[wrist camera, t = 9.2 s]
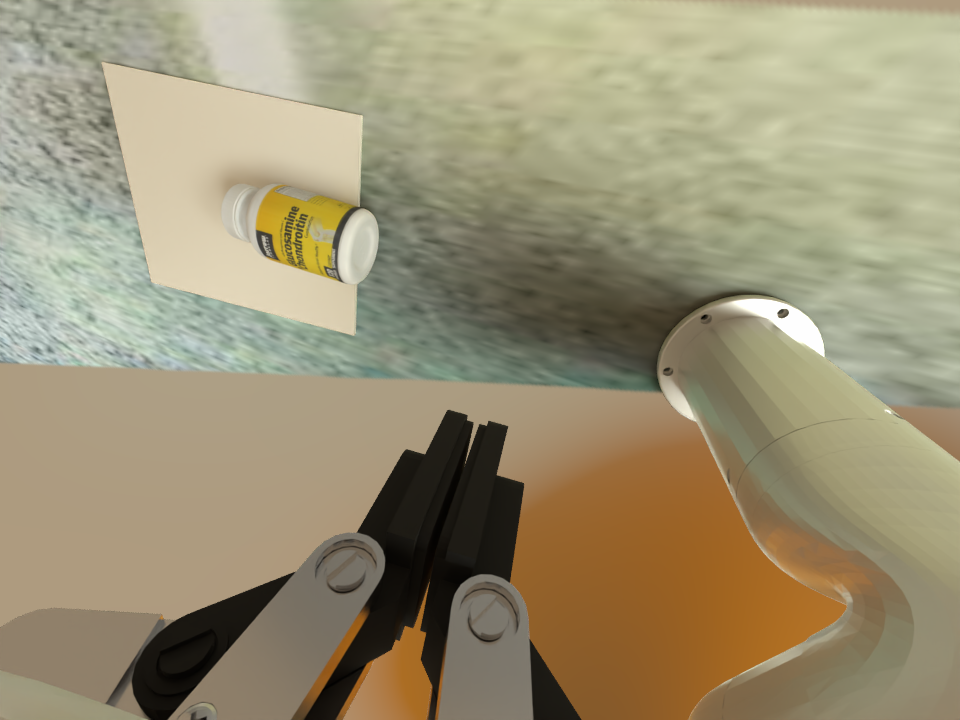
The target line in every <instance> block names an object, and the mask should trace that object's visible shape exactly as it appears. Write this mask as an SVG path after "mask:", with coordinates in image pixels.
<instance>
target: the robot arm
mask: <svg viewBox="0 0 960 720" xmlns="http://www.w3.org/2000/svg"><path fill="white" fill-rule="evenodd" d="M780 309H781V311H779V310H780ZM778 311H779V312H778ZM703 315H706V317H704V318H701V317H702V316H703ZM824 356H825V352H824V342H823V339H822V336H821V334H820V331H819V329H818V328H817V326H816V325H815V324H814V322H813V321H812V320H811V318H810V317H808V316H807V315H806V314H805V313H803V312H802V311H801V310H800V309H798V308H796V307H795V306H793V305H791V304H790V303H788V302H785V301H782V300H780V299H777V298H774V297H769V296H763V295H738V296H732V297H726V298H723V299H720V300H717V301H714V302H711V303H708V304H706V305H704V306H702V307H700V308H698V309H696V310H695V311H693V312H692V313H690V314H689V315H688V316H686V317H685V318H684V319H682V320H681V321H680V322H679V323H678V324H677V325H676V326H675V327H674V328H673V329H672V331H671V332H670V333H669V335H668V336H667V338H666V339H665V341H664V343H663V345H662V347H661V350H660V352H659V356H658V361H657V377H658V381H659V385H660V388H661V390H662V392H663V395H664V397H665V398H666V399H667V401H668V402H669V404H670V405H671V406H672V407H673V408H674V409H675V410H676V411H677V412H678V413H680V414H681V415H683V416H684V417H686V418H688V419H690V420H692V421H694V422H697V423H698V425H699V428H700V430H701V432H702V433H703V436H704V438H705V440H706V442H707V444H708V446H709V448H710V450H711V453H712V455H713V456H714V459H715V461H716V463H717V465H718V467H719V469H720V471H721V473H722V476H723V477H724V480H725V482H726V484H727V486H728V488H729V490H730V492H731V494H732V496H733V499H734V501H735V503H736V505H737V507H738V509H739V511H740V513H741V515H742V517H743V519H744V522H745V524H746V525H747V528H748V530H749V532H750V533H751V535H752V537H753V538H754V540H755V542H756V543H757V544H758V546H759V547H760V549H761V550H762V551H763V552H764V554H765V555H766V556H767V557H768V558H769V559H770V560H771V561H772V562H774V564H776V566H778V567H779V568H780V569H781V570H783V571H784V572H785V573H787V574H788V575H790V576H791V577H793V578H794V579H796V580H797V581H799V582H801V583H802V584H804V585H806V586H807V587H809V588H811V589H814V590H816V591H818V592H819V593H821V594H823V595H825V596H828V597H830V598H832V599H834V600H837V601H839V602H841V603H843V604H846V605H847V609H846V611H845V612H844V614H843V615H842V616H841V617H840V618H839V619H838V620H837V621H836V622H835V623H833V624H831V625H830V626H828V627H827V628H824V629H823V630H821V631H819V632H818V633H816V634H814V635H812V636H811V637H809V638H808V639H807V641H805V642H803V643H801V644H799V645H798V646H795V647H793V648H791V649H789V650H787V651H785V652H783V653H781V654H779V655H777V656H775V657H773V658H771V659H769V660H767V661H765V662H763V663H761V664H759V665H757V666H755V667H753V668H751V669H749V670H747V671H745V672H743V673H741V674H740V675H738V676H736V677H734V678H732V679H730V680H728V681H726V682H724V683H723V684H721V685H720V686H718V687H716V688H715V689H713V690H712V691H711V692H709V693H708V694H707V695H706V696H705V697H704V698H702V700H701V701H700V702H699V703H698V704H697V705H696V707H695V708H694V710H693V711H692V713H691V715H690V717H689V719H688V720H960V462H959V461H958V460H956V459H955V458H954V457H953V456H951V455H950V454H949V453H947V452H946V451H945V450H944V449H942V448H941V447H940V446H938V445H937V444H936V443H934V442H933V441H932V440H930V439H929V438H928V437H927V436H925V435H924V434H922V433H921V432H920V431H919V430H917V429H916V428H915V427H913V426H912V425H911V424H910V423H908V422H907V421H906V420H905V419H903V418H902V417H901V416H899V415H898V414H897V413H896V412H894V411H893V410H892V409H890V408H889V407H888V406H887V405H885V404H884V403H883V402H881V401H880V400H879V399H878V398H876V397H875V396H874V395H872V394H871V393H870V392H869V391H867V390H866V389H865V388H864V387H862V386H861V385H860V384H858V383H857V382H856V381H855V380H853V379H852V378H851V377H849V376H848V375H847V374H846V373H844V372H843V371H842V370H840V369H839V368H838V367H837V366H835V365H834V364H833V363H831V362H830V361H829V360H828V359H826V358H825V357H824ZM668 367H669V368H668ZM665 368H668V369H665ZM472 428H473V422H470V421H467V415H465V414H462V413H458V412H454V411H451V410H447V412H446V414H445V416H444V418H443V420H442V422H441V424H440V426H439V428H438V430H437V432H436V434H435V436H434V438H433V440H432V442H431V444H430V446H429V448H428V450H427V452H426V454H421V453H417V452H414V451H411V450H405V451H404V452H403V454H402V455H401V457H400V459H399V461H398V462H397V464H396V466H395V467H394V469H393V471H392V473H391V474H390V476H389V478H388V480H387V481H386V483H385V485H384V487H383V488H382V490H381V492H380V493H379V495H378V497H377V499H376V500H375V502H374V504H373V506H372V507H371V509H370V511H369V513H368V514H367V516H366V518H365V519H364V521H363V523H362V525H361V526H360V528H359V530H358V532H357V533H344V534H340V535H335V536H334V537H332V538H330V539H328V540H326V541H324V542H323V543H322V544H321V545H320V546H319V547H317V548H316V549H315V550H314V552H313V553H312V554H311V555H310V556H309V557H308V558H307V560H306V561H305V562H304V563H303V564H302V565H301V567H300V568H299V569H298V570H297V571H296V572H293V573H291V574H288V575H286V576H283V577H281V578H278V579H276V580H273V581H270V582H268V583H265V584H263V585H260V586H258V587H255V588H253V589H251V590H248V591H245V592H243V593H240V594H238V595H235V596H233V597H230V598H228V599H225V600H222V601H220V602H217V603H215V604H212V605H210V606H207V607H205V608H202V609H200V610H197V611H195V612H192V613H190V614H187V615H185V616H183V617H181V618H179V619H177V620H165V619H164V618H163V615H162V614H149V613H132V612H131V613H130V612H115V611H98V610H81V609H62V608H50V609H41V610H36V611H33V612H30V613H27V614H25V615H22V616H19V617H17V618H15V619H14V620H12V621H10V622H9V623H7V624H5V625H3V626H2V627H0V720H343V718H344V716H345V714H346V713H347V711H348V709H349V707H350V705H351V703H352V702H353V700H354V698H355V696H356V694H357V693H358V691H359V689H360V687H361V685H362V683H363V682H364V680H365V678H366V676H367V674H368V672H369V671H370V669H371V667H372V664H373V662H374V659H376V658H378V657H379V656H381V655H383V654H385V653H386V652H388V651H390V650H392V647H393V645H394V642H395V639H396V640H399V641H400V638H401V635H402V632H403V630H404V627H405V626H408V627H411V628H413V627H414V625H415V622H416V620H417V616H418V613H419V611H420V608H421V605H422V601H423V599H424V596H425V593H426V590H427V587H428V584H429V581H430V584H429V588H428V593H427V598H426V604H425V609H424V614H423V619H422V624H421V629H420V630H421V631H423V632H426V637H425V642H424V647H423V651H422V656H421V661H422V664H423V666H424V668H425V670H426V673H427V675H428V677H429V680H430V682H431V684H432V686H431V691H430V698H429V705H428V712H427V719H426V720H581V718H580V717H579V716H578V714H577V712H576V711H575V709H574V708H573V706H572V704H571V703H570V701H569V700H568V698H567V697H566V695H565V693H564V692H563V690H562V689H561V687H560V686H559V684H558V682H557V681H556V680H555V678H554V676H553V675H552V673H551V672H550V670H549V669H548V667H547V665H546V664H545V662H544V661H543V659H542V658H541V656H540V654H539V653H538V652H537V650H536V648H535V647H534V645H533V643H532V642H531V640H530V639H529V621H528V614H527V608H526V604H525V602H524V600H523V599H522V596H521V594H520V593H519V592H518V591H517V590H516V589H515V588H514V586H513V585H512V584H510V577H511V571H512V563H513V558H514V550H515V544H516V537H517V531H518V523H519V517H520V510H521V504H522V497H523V490H524V483H522V482H518V481H515V480H511V479H508V478H504V477H501V476H497V470H498V466H499V462H500V458H501V454H502V449H503V445H504V441H505V437H506V433H507V429H508V426H505V425H502V424H498V423H495V422H491V421H488V424H487V426H485V425H481V424H479V427H478V430H477V432H476V435H475V438H474V441H473V444H472V447H471V450H470V452H469V455H468V458H467V461H466V457H467V452H468V447H469V443H470V438H471V433H472ZM465 461H466V464H465ZM464 466H465V467H464Z"/></svg>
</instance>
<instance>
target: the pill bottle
mask: <svg viewBox="0 0 960 720" xmlns="http://www.w3.org/2000/svg"><path fill="white" fill-rule="evenodd" d="M221 217H222V222H223V225H224V227H225V229H226V231H227V232H228V233H229V234H230V235H231V236H232V237H234V238H237V239H240V240H242V241H245V242H250V243H251V244H252V245H253V247H254V249H255V250H256V251H257V252H258V253H259V254H260V255H261V256H263V257H264V258H266V259H269V260H272V261H275V262H278V263H281V264H285V265H288V266H291V267H294V268H297V269H300V270H304V271H307V272H310V273H313V274H316V275H319V276H323V277H326V278H329V279H332V280H335V281H339V282H342V283H345V284H349V285H354V284H358V283H360V282H361V281H363V280H364V279H365V278H366V276H367V275H368V273H369V272H370V270H371V268H372V266H373V263H374V261H375V257H376V254H377V250H378V243H379V229H378V224H377V221H376V219H375V217H374V215H373V214H372V213H371V212H370V211H368V210H366V209H364V208H361V207H357V206H354V205H351V204H347V203H344V202H341V201H337V200H334V199H331V198H328V197H324V196H321V195H318V194H315V193H311V192H308V191H305V190H301V189H298V188H294V187H291V186H288V185H284V184H270V185H267V186H265V187H263V188H262V189H259V188H257V187H254V186H250V185H247V184H237V185H235V186H233V187H231V188H230V189H229V190H228V192H227V193H226V195H225V197H224V199H223V202H222V207H221Z"/></svg>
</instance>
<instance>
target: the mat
mask: <svg viewBox="0 0 960 720" xmlns="http://www.w3.org/2000/svg"><path fill="white" fill-rule="evenodd" d="M102 66H103V71H104V75H105V79H106V84H107V88H108V93H109V97H110V101H111V106H112V110H113V115H114V119H115V123H116V128H117V132H118V137H119V141H120V146H121V150H122V154H123V159H124V163H125V168H126V172H127V176H128V181H129V185H130V190H131V194H132V199H133V203H134V207H135V212H136V216H137V221H138V225H139V229H140V234H141V238H142V243H143V247H144V252H145V256H146V260H147V265H148V269H149V274H150V278H151V282H152V283H156V284H160V285H164V286H167V287H171V288H175V289H179V290H183V291H186V292H190V293H194V294H198V295H202V296H205V297H209V298H213V299H217V300H221V301H224V302H228V303H232V304H236V305H240V306H243V307H247V308H251V309H255V310H259V311H262V312H266V313H270V314H274V315H278V316H281V317H285V318H289V319H293V320H297V321H300V322H304V323H308V324H312V325H316V326H319V327H323V328H327V329H331V330H335V331H338V332H342V333H346V334H350V335H353V336H354V335H355V334H356V312H357V284H354V285H349V284H345V283H342V282H339V281H335V280H332V279H329V278H326V277H323V276H319V275H316V274H313V273H310V272H307V271H304V270H300V269H297V268H294V267H291V266H288V265H285V264H281V263H278V262H275V261H272V260H269V259H266V258H264V257H263V256H261V255H260V254H259V253H258V252H257V251H256V250H255V249H254V247H253V245H252V244H251V243H250V242H245V241H242V240H240V239H237V238H234V237H232V236H231V235H230V234H229V233H228V232H227V231H226V229H225V227H224V225H223V222H222V217H221V207H222V202H223V199H224V197H225V195H226V193H227V192H228V190H229V189H230V188H231V187H233V186H235V185H237V184H247V185H250V186H254V187H257V188H259V189H262V188H263V187H265V186H267V185H270V184H284V185H288V186H291V187H294V188H298V189H301V190H305V191H308V192H311V193H315V194H318V195H321V196H324V197H328V198H331V199H334V200H337V201H341V202H344V203H347V204H351V205H354V206H357V207H360V189H361V158H362V127H363V116H362V115H357V114H352V113H347V112H343V111H338V110H333V109H328V108H323V107H318V106H313V105H309V104H304V103H299V102H294V101H289V100H284V99H280V98H275V97H270V96H265V95H260V94H255V93H250V92H246V91H241V90H236V89H231V88H226V87H221V86H217V85H212V84H207V83H202V82H197V81H192V80H188V79H183V78H178V77H173V76H168V75H163V74H158V73H154V72H149V71H144V70H139V69H134V68H129V67H125V66H120V65H115V64H110V63H105V62H102Z"/></svg>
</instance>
